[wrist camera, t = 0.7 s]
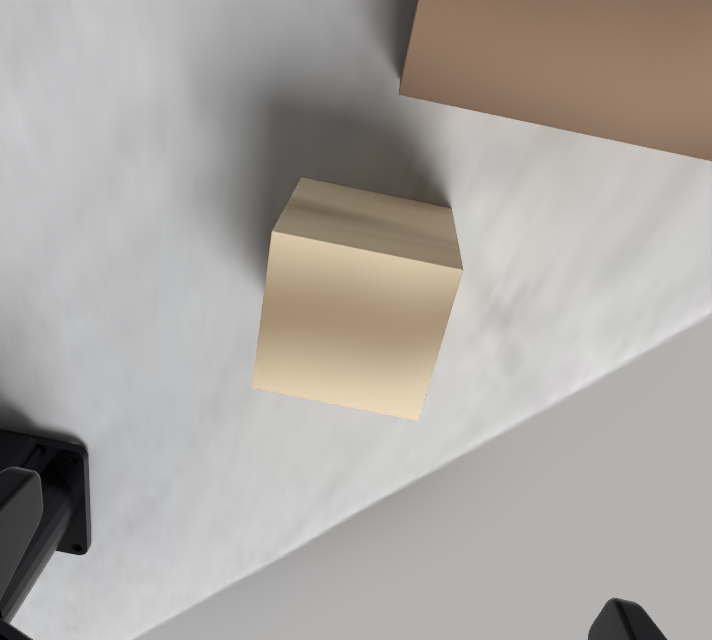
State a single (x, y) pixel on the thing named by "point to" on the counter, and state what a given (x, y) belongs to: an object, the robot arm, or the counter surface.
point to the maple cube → (356, 298)
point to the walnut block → (572, 66)
